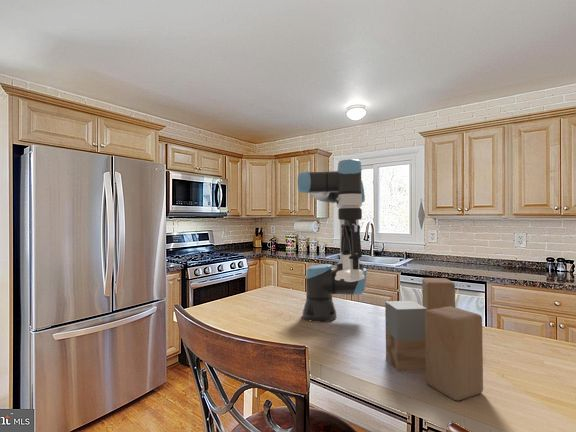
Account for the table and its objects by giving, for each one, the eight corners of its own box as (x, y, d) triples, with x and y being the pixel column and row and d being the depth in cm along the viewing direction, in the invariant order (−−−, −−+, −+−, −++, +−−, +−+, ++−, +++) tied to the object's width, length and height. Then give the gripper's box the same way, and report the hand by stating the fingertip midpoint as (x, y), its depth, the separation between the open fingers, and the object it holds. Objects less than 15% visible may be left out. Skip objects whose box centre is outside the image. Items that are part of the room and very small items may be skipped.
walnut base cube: (385, 358, 103) (385, 329, 103) (413, 357, 104) (413, 328, 104) (397, 371, 94) (397, 340, 94) (427, 370, 95) (427, 339, 95)
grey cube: (385, 329, 103) (385, 301, 103) (413, 328, 104) (412, 300, 104) (397, 340, 94) (397, 309, 94) (427, 339, 95) (426, 308, 95)
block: (456, 403, 78) (455, 319, 78) (424, 383, 87) (423, 309, 87) (485, 393, 82) (483, 314, 82) (450, 376, 91) (450, 304, 91)
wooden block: (456, 336, 121) (455, 282, 121) (427, 335, 123) (427, 282, 123) (448, 327, 130) (448, 278, 131) (422, 326, 132) (421, 277, 133)
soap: (351, 282, 100) (351, 272, 100) (333, 279, 105) (333, 270, 105) (366, 278, 107) (366, 269, 107) (348, 275, 111) (348, 267, 111)
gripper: (331, 208, 116) (332, 271, 116) (347, 206, 95) (347, 283, 94) (352, 208, 117) (352, 271, 117) (372, 206, 95) (373, 283, 95)
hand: (350, 276), depth 106 cm, fingers closed on soap, 9 cm apart
